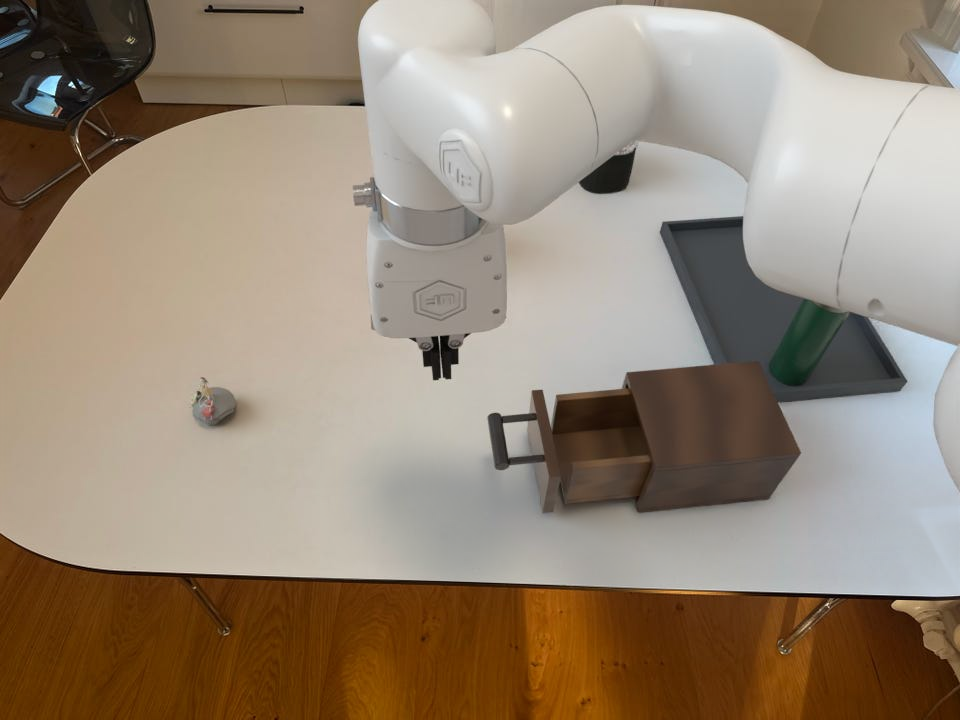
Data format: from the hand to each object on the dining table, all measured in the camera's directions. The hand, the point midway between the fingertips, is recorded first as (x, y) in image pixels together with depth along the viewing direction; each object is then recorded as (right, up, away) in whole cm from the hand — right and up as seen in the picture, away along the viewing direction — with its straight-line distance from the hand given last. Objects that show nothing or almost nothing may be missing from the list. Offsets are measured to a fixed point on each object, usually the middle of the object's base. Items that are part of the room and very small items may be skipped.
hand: (440, 366), depth 61 cm
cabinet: (+27, -11, +18) cm, 34 cm away
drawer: (+14, -11, +16) cm, 24 cm away
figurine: (-27, -6, +21) cm, 35 cm away
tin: (+41, -1, +26) cm, 49 cm away
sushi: (+23, +29, +50) cm, 62 cm away
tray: (+42, +8, +33) cm, 54 cm away
